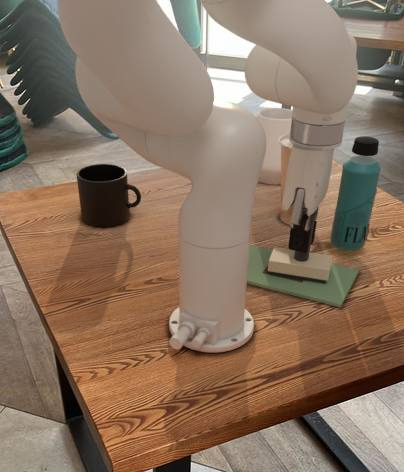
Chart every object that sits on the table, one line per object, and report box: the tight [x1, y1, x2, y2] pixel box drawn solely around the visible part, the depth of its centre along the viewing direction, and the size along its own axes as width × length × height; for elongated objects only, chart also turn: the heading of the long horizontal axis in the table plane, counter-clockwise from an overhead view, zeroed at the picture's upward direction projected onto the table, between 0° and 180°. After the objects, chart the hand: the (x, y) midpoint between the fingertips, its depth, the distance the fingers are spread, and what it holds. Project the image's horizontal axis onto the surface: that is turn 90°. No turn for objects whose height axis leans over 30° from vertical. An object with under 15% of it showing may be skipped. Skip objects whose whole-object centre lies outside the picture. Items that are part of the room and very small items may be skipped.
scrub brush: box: [268, 212, 334, 284], centre depth 93 cm, size 5×10×11 cm, turn 74°
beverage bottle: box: [329, 135, 382, 252], centre depth 98 cm, size 6×7×20 cm
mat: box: [247, 244, 360, 308], centre depth 97 cm, size 12×20×1 cm, turn 65°
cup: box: [255, 107, 293, 186], centre depth 127 cm, size 13×13×14 cm
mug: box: [76, 163, 142, 228], centre depth 111 cm, size 9×12×9 cm
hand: (300, 245), depth 94 cm, fingers closed on scrub brush, 2 cm apart
